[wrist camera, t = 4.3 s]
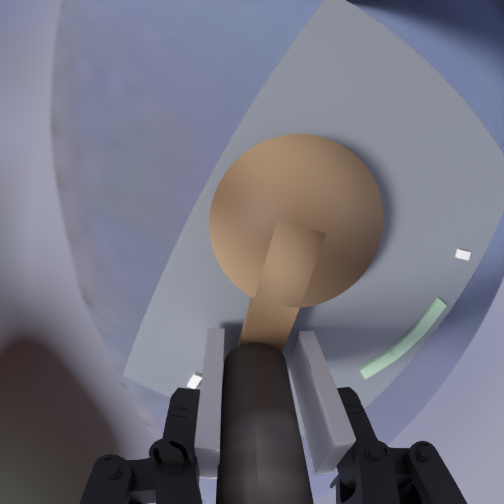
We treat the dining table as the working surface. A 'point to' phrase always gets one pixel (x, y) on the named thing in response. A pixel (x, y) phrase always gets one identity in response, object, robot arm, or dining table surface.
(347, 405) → the robot arm
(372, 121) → the board
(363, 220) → the dial
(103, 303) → the dining table surface
